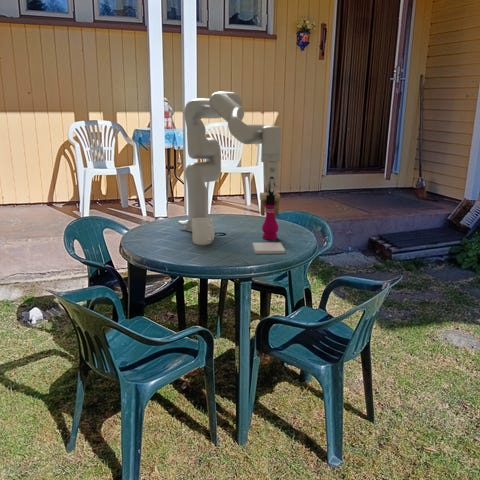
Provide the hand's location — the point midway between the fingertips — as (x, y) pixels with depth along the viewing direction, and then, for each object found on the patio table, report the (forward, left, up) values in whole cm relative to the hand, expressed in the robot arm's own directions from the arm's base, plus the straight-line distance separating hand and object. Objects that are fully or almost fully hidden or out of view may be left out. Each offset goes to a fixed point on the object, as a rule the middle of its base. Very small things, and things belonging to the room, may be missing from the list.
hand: (269, 203), depth 198 cm
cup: (-26, +10, -20) cm, 34 cm away
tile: (0, 0, -19) cm, 19 cm away
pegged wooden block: (0, 0, -5) cm, 5 cm away
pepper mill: (+3, +18, -19) cm, 27 cm away
